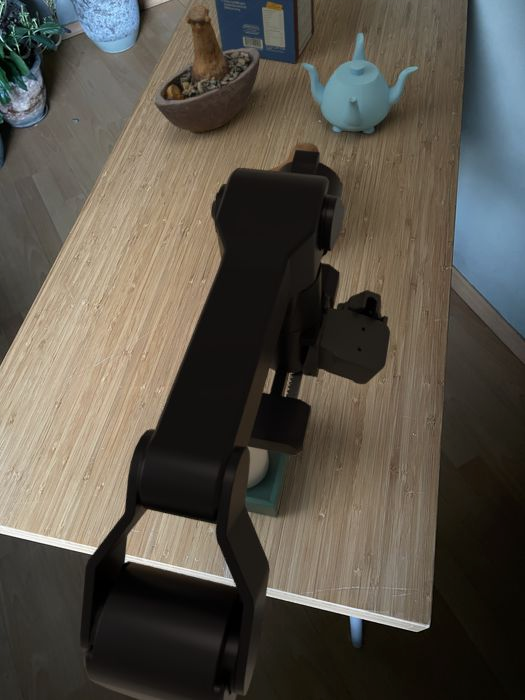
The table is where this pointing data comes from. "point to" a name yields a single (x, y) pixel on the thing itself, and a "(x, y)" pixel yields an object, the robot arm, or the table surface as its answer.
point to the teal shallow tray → (269, 487)
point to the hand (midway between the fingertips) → (292, 391)
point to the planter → (208, 80)
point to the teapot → (356, 93)
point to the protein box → (266, 26)
